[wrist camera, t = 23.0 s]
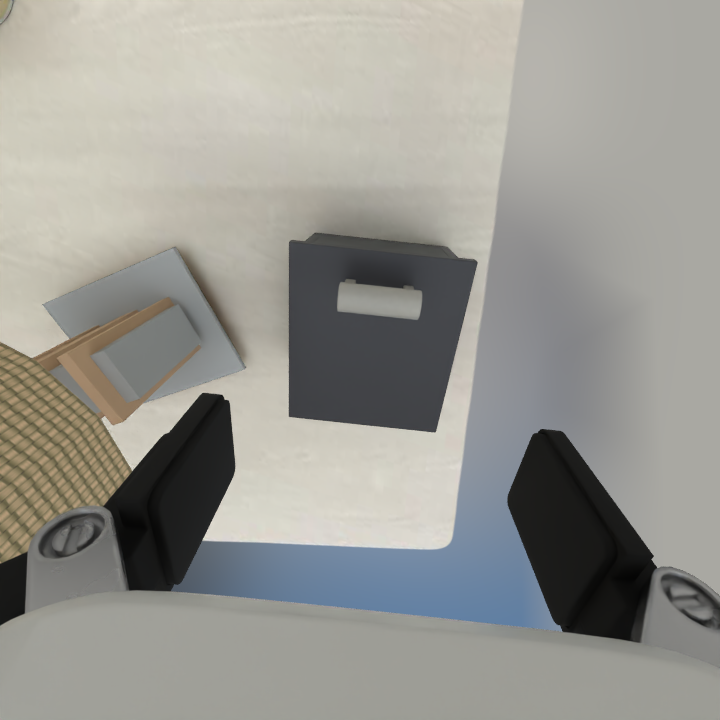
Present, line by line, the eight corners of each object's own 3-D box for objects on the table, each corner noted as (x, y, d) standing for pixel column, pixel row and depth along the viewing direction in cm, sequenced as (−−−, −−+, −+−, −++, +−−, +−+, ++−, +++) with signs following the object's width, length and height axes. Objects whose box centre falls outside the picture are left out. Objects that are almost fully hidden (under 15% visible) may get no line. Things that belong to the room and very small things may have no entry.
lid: (291, 239, 24) (272, 253, 20) (475, 259, 24) (495, 277, 20) (290, 411, 31) (276, 449, 26) (434, 426, 31) (443, 467, 26)
